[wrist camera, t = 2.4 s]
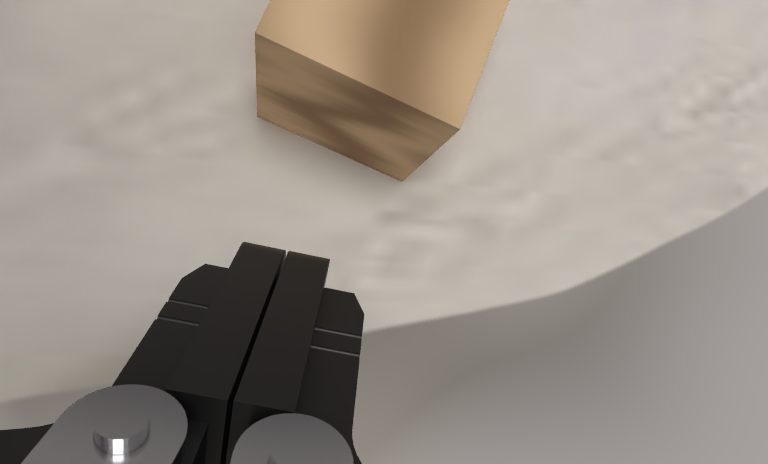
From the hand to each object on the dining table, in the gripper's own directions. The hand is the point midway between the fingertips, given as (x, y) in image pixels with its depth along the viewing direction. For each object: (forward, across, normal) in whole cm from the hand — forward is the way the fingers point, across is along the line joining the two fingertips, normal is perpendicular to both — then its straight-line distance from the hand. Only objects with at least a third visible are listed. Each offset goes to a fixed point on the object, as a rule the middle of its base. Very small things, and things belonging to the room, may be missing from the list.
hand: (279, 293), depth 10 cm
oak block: (+22, 0, 0) cm, 22 cm away
